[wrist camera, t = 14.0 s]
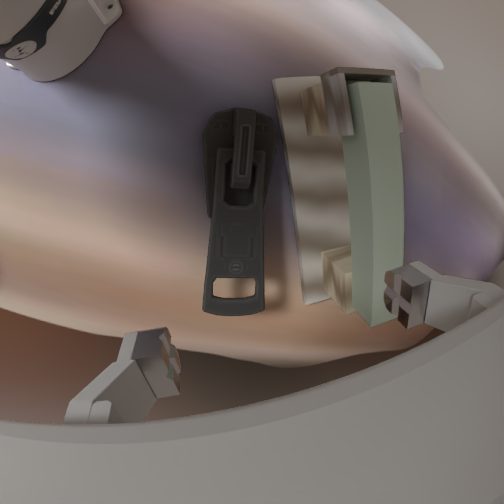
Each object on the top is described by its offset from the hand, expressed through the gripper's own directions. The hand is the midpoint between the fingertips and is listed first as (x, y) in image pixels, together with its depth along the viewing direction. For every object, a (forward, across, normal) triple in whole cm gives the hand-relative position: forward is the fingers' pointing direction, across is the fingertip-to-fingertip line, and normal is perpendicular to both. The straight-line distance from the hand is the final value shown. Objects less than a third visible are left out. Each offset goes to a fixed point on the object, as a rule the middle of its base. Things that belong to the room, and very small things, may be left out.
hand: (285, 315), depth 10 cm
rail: (+20, -15, +3) cm, 25 cm away
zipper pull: (+30, -1, +2) cm, 30 cm away
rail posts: (+29, -15, +3) cm, 33 cm away
